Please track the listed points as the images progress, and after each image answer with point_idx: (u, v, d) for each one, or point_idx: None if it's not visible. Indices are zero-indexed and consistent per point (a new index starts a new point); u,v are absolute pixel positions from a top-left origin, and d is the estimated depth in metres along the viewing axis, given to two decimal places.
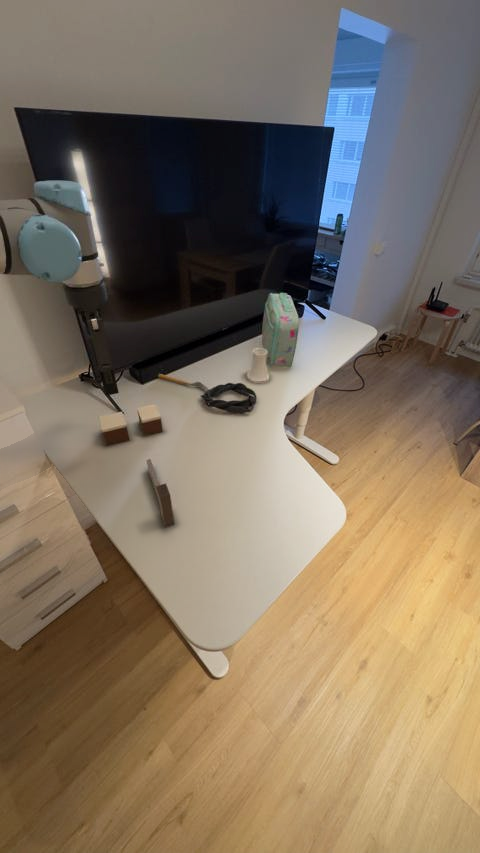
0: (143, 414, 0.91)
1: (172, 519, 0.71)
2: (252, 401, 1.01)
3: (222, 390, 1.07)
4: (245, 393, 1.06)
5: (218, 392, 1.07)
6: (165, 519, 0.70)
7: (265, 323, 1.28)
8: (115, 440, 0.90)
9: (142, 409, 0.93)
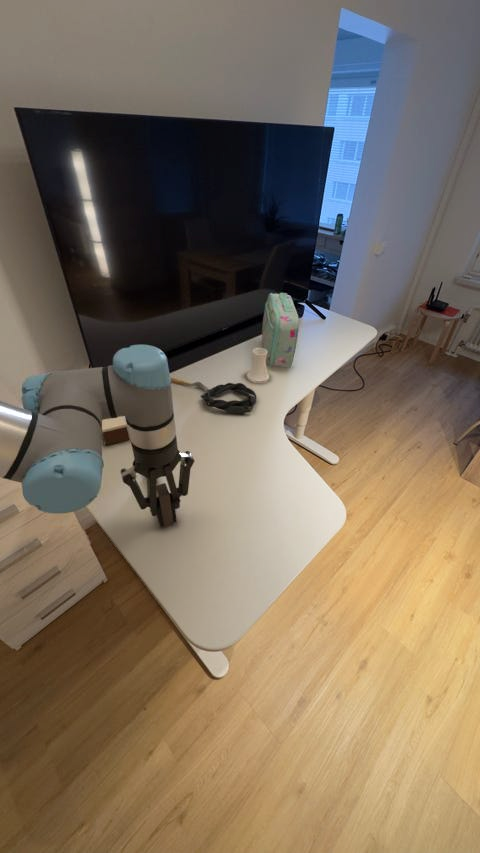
0: None
1: (171, 519, 0.71)
2: (252, 401, 1.01)
3: (222, 390, 1.07)
4: (245, 393, 1.06)
5: (218, 392, 1.07)
6: (164, 519, 0.70)
7: (265, 323, 1.28)
8: (115, 440, 0.90)
9: None
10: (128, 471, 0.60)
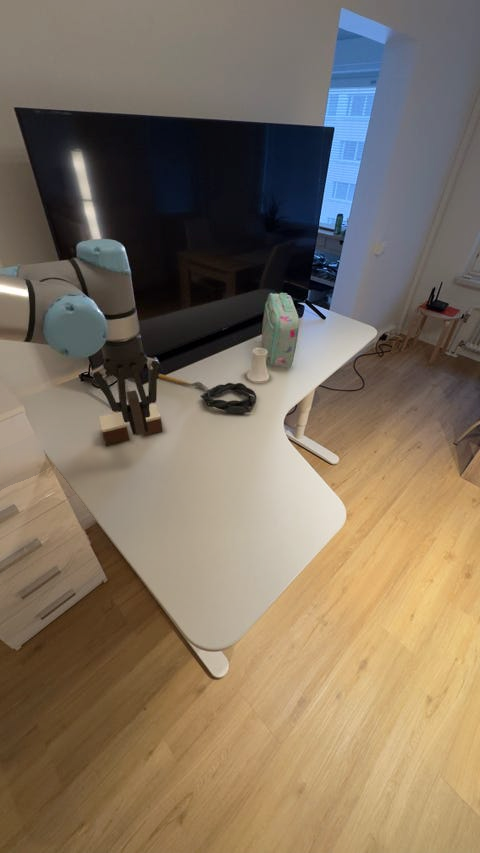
0: None
1: (142, 427, 0.77)
2: (252, 401, 1.01)
3: (222, 390, 1.07)
4: (245, 393, 1.06)
5: (218, 392, 1.07)
6: (135, 426, 0.76)
7: (265, 323, 1.28)
8: (115, 440, 0.90)
9: None
10: (98, 369, 0.66)
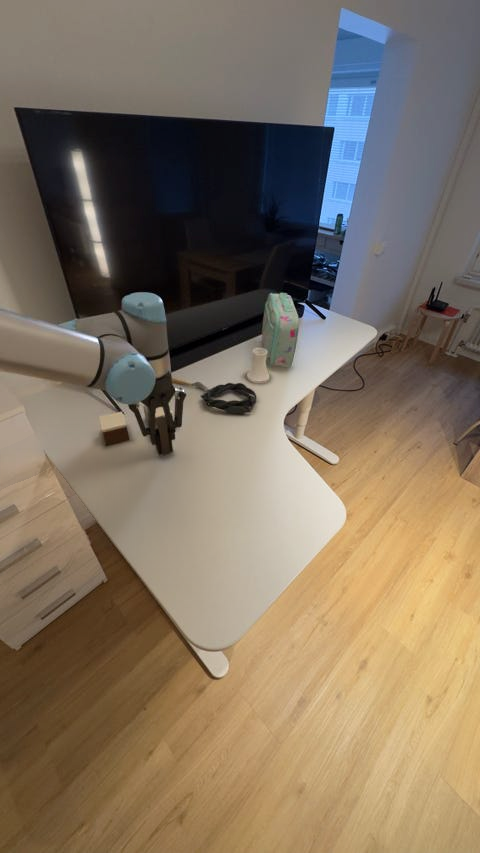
0: None
1: (168, 448, 0.86)
2: (252, 401, 1.01)
3: (222, 390, 1.07)
4: (245, 393, 1.06)
5: (218, 392, 1.07)
6: (162, 448, 0.85)
7: (265, 323, 1.28)
8: (115, 440, 0.90)
9: None
10: None
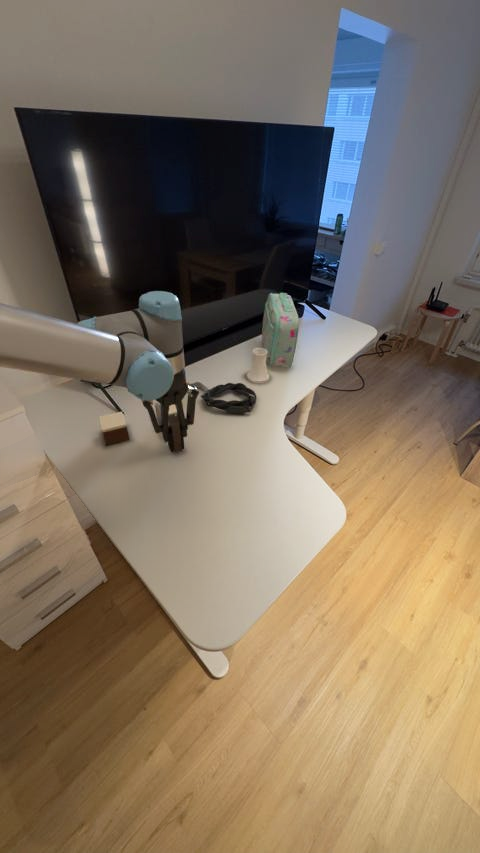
0: None
1: (180, 445, 0.87)
2: (252, 401, 1.01)
3: (222, 390, 1.07)
4: (245, 393, 1.06)
5: (218, 392, 1.07)
6: (174, 445, 0.86)
7: (265, 323, 1.28)
8: (115, 440, 0.90)
9: None
10: None
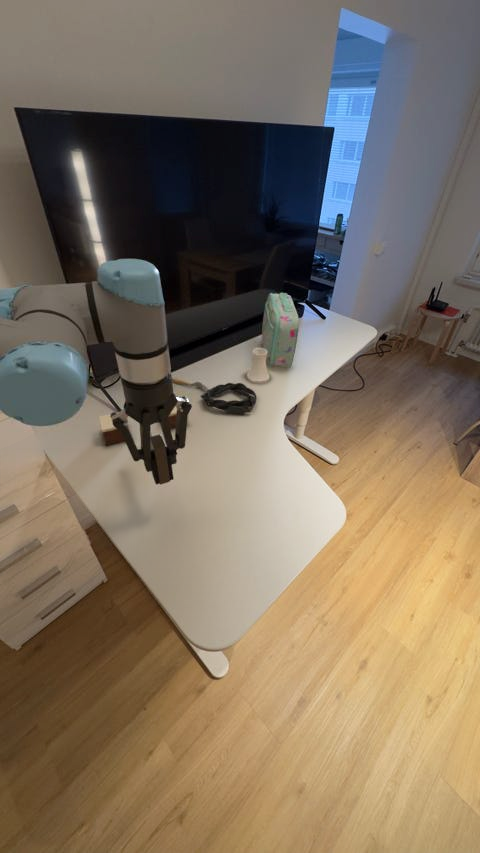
0: None
1: (167, 475, 0.65)
2: (252, 401, 1.01)
3: (222, 390, 1.07)
4: (245, 393, 1.06)
5: (218, 392, 1.07)
6: (159, 475, 0.64)
7: (265, 323, 1.28)
8: (115, 440, 0.90)
9: None
10: (119, 414, 0.54)
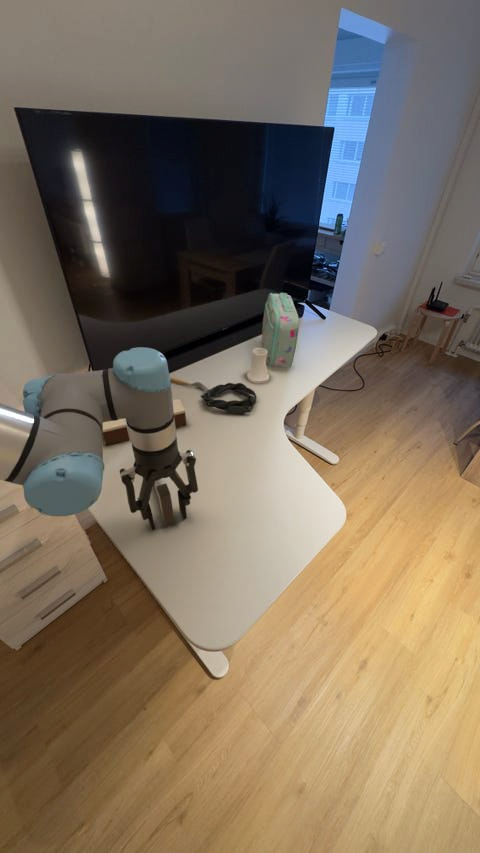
0: None
1: (172, 519, 0.71)
2: (252, 401, 1.01)
3: (222, 390, 1.07)
4: (245, 393, 1.06)
5: (218, 392, 1.07)
6: (165, 519, 0.70)
7: (265, 323, 1.28)
8: (115, 440, 0.90)
9: None
10: (128, 471, 0.60)
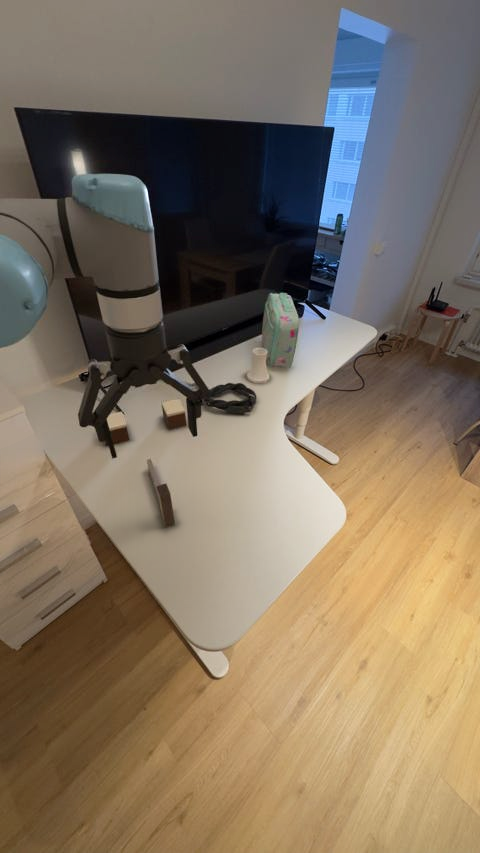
0: (168, 408, 0.94)
1: (172, 519, 0.71)
2: (252, 401, 1.01)
3: (222, 390, 1.07)
4: (245, 393, 1.06)
5: (218, 392, 1.07)
6: (165, 519, 0.70)
7: (265, 323, 1.28)
8: (115, 440, 0.90)
9: (166, 403, 0.95)
10: (101, 363, 0.46)
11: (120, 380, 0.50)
